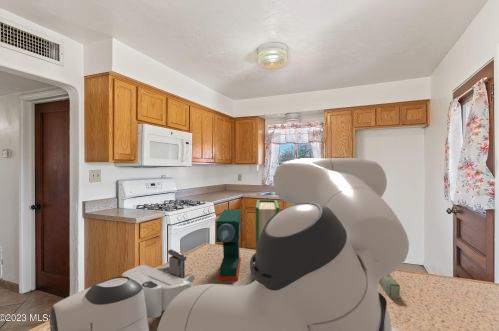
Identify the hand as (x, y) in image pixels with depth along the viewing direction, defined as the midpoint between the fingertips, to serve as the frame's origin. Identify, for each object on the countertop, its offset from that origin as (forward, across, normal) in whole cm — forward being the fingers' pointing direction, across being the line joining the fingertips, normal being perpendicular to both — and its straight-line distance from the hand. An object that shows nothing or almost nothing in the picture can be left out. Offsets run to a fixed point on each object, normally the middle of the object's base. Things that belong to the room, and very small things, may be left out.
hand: (180, 272), depth 73 cm
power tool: (+20, 0, -8) cm, 22 cm away
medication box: (+41, +45, -8) cm, 62 cm away
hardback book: (+31, +9, -8) cm, 33 cm away
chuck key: (-1, 0, -8) cm, 8 cm away
